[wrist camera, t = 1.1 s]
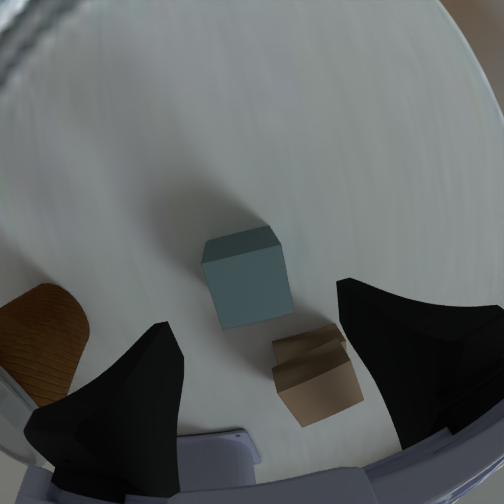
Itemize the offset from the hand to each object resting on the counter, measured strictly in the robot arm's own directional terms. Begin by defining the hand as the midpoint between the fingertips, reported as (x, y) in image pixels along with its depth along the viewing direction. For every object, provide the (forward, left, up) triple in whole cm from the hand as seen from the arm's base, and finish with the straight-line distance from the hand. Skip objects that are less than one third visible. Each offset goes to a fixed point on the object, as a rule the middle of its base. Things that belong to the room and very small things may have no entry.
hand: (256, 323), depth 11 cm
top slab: (+3, -9, -5) cm, 11 cm away
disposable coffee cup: (-16, -1, -7) cm, 18 cm away
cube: (0, 0, -7) cm, 7 cm away
